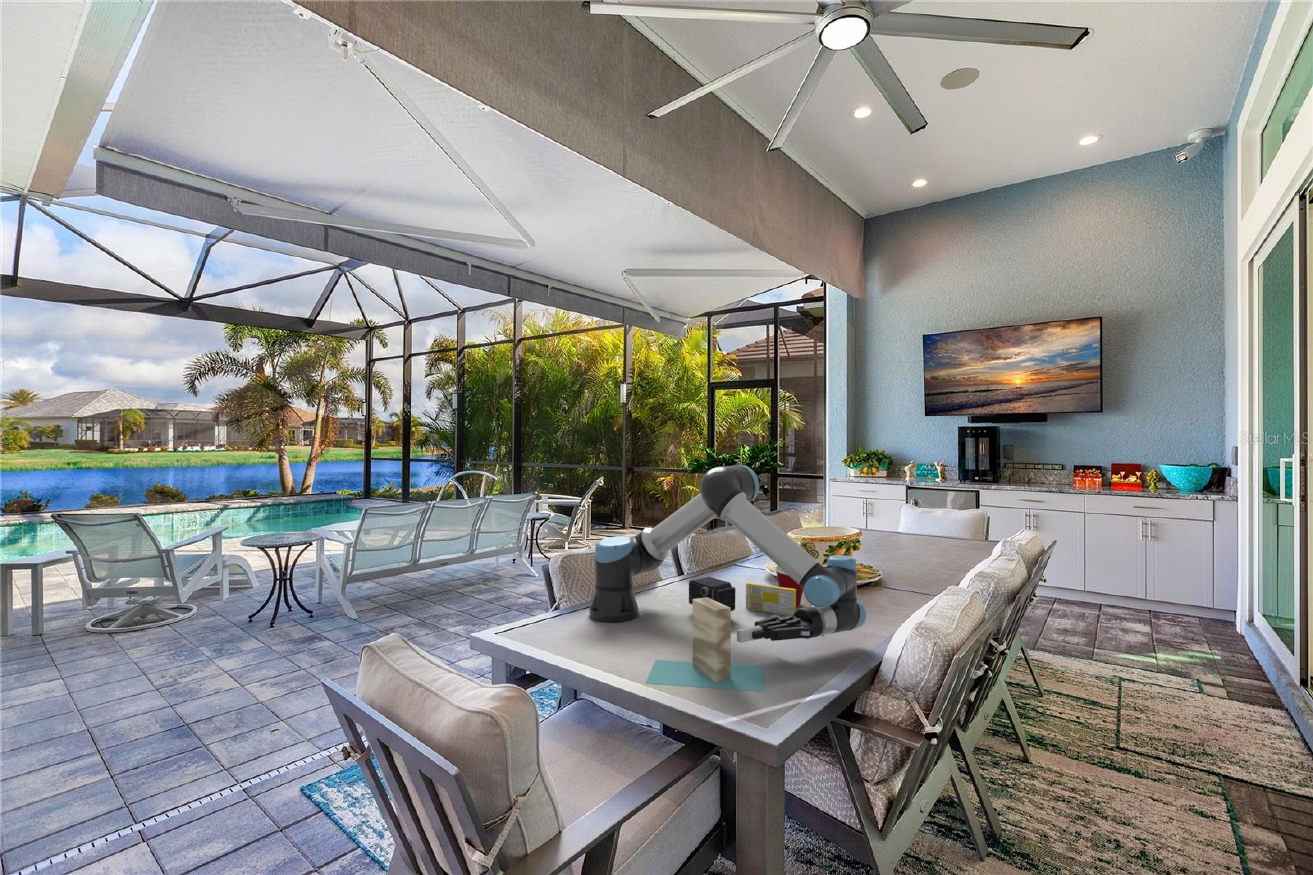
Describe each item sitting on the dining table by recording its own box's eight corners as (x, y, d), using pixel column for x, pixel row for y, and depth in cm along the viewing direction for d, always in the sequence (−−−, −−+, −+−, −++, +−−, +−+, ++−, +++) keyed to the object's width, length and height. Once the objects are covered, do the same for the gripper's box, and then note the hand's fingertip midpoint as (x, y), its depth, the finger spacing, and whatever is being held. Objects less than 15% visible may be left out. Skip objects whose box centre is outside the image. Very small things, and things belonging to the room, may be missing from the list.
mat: (645, 686, 131) (645, 683, 131) (655, 662, 144) (655, 659, 144) (764, 694, 126) (764, 691, 126) (763, 668, 140) (763, 666, 140)
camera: (684, 617, 184) (717, 624, 172) (682, 580, 185) (714, 585, 173) (710, 610, 190) (743, 617, 178) (707, 575, 191) (740, 579, 179)
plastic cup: (787, 611, 186) (787, 573, 186) (768, 602, 196) (768, 566, 196) (815, 607, 191) (815, 570, 191) (794, 598, 201) (794, 563, 200)
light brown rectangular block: (715, 681, 131) (715, 610, 131) (692, 666, 140) (692, 599, 140) (730, 678, 133) (730, 607, 133) (706, 663, 142) (706, 597, 142)
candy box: (796, 615, 182) (796, 588, 182) (794, 617, 180) (794, 590, 180) (748, 607, 191) (748, 582, 191) (745, 609, 189) (745, 583, 189)
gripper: (832, 644, 145) (755, 661, 134) (796, 628, 157) (723, 643, 146) (832, 613, 145) (755, 628, 134) (796, 600, 157) (723, 613, 146)
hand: (738, 636), depth 140 cm, fingers closed
